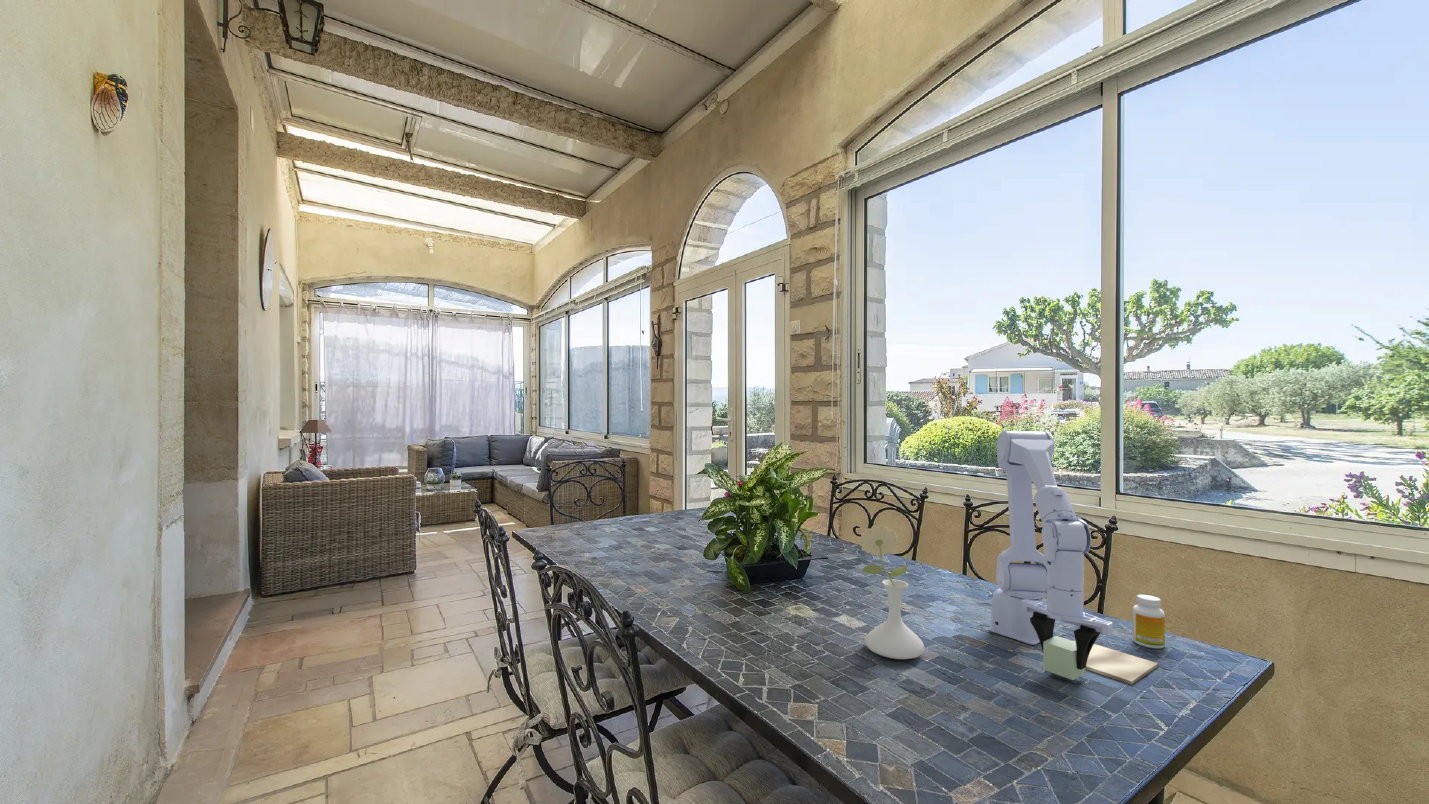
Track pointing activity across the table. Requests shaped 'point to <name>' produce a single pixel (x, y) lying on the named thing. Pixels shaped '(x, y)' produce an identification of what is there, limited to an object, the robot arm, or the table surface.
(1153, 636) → the supplement bottle
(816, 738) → the table surface
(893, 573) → the flower in vase
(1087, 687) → the table surface
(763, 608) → the table surface
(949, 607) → the table surface
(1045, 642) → the sage cube
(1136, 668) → the wooden board
